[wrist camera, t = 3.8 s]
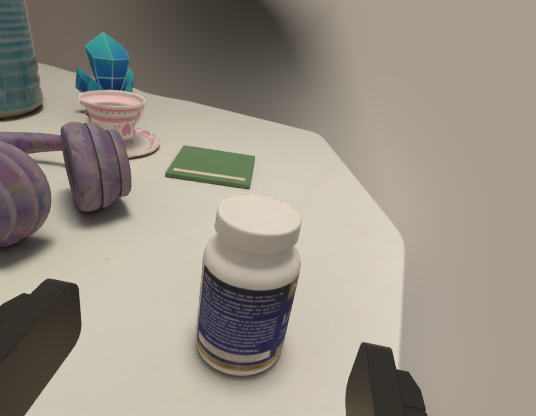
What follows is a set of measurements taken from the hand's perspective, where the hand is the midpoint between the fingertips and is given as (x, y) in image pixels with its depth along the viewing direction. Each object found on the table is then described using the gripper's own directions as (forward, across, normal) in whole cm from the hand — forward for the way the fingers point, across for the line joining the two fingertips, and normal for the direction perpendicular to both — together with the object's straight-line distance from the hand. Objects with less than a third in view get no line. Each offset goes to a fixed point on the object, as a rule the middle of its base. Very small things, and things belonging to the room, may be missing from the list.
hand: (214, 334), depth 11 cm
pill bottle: (+11, 0, +12) cm, 16 cm away
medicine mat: (+40, +8, +12) cm, 42 cm away
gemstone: (+53, +29, +12) cm, 61 cm away
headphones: (+23, +24, +12) cm, 36 cm away
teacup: (+41, +23, +12) cm, 49 cm away
